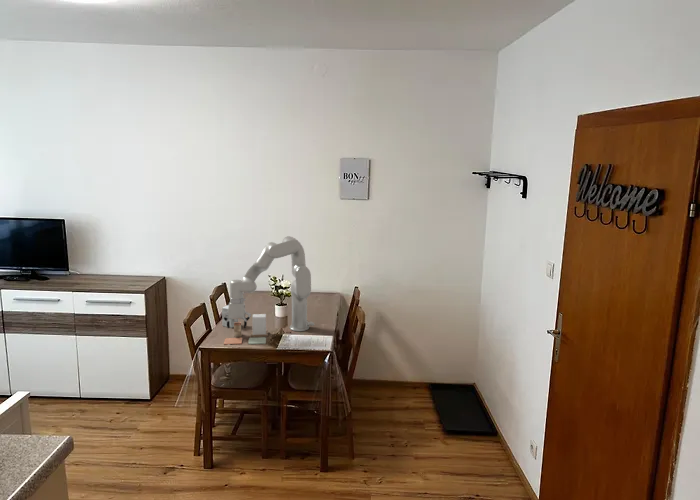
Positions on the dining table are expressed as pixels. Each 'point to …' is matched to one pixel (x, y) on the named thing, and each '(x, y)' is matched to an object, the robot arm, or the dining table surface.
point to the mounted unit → (259, 326)
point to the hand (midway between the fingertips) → (236, 327)
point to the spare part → (237, 329)
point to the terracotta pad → (233, 341)
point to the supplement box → (231, 321)
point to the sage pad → (257, 340)
